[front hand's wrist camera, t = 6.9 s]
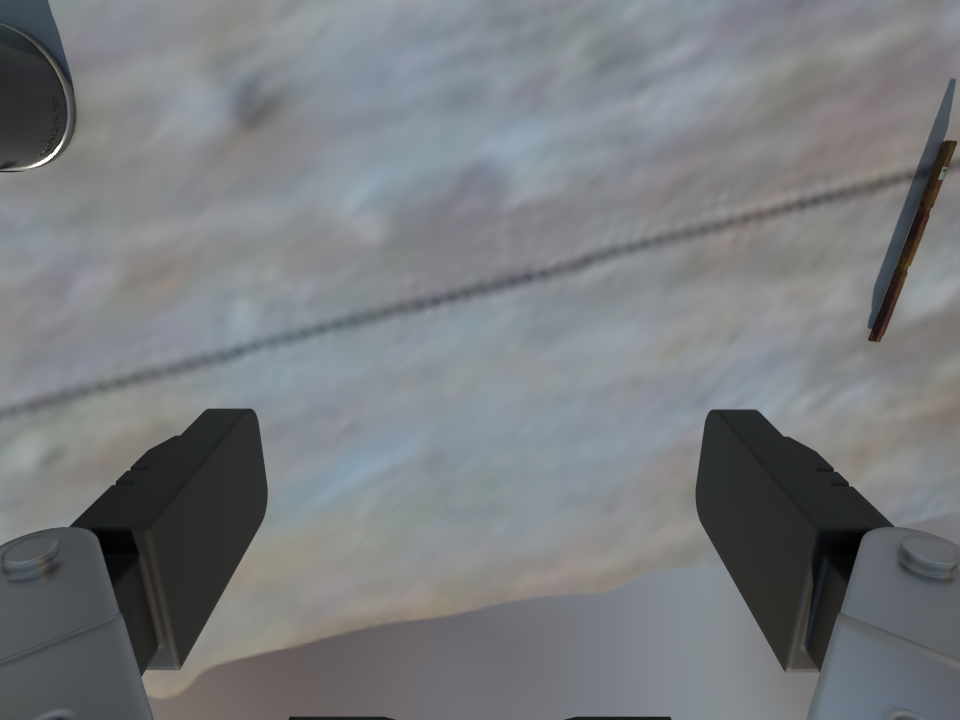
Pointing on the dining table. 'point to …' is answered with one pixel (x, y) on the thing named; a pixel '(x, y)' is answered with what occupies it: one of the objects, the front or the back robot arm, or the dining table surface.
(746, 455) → the front robot arm
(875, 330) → the brown thin stick
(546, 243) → the dining table surface
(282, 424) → the dining table surface
